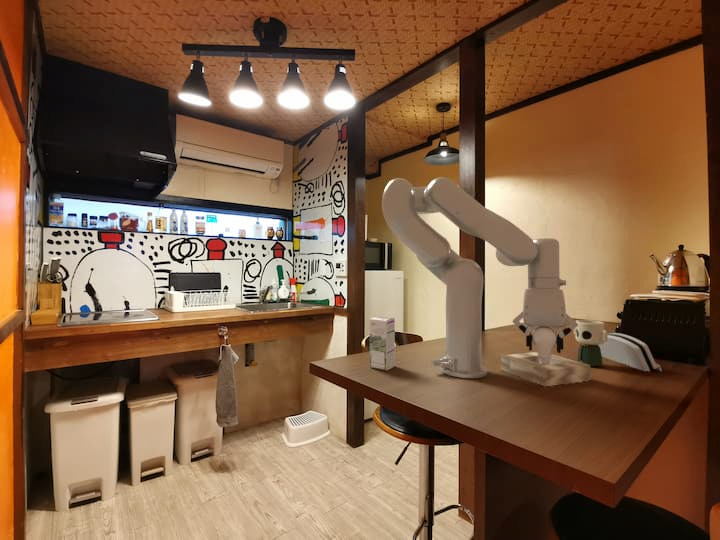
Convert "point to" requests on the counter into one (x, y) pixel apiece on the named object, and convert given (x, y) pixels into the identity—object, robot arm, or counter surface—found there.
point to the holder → (545, 369)
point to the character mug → (590, 341)
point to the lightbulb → (544, 343)
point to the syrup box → (382, 343)
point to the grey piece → (628, 352)
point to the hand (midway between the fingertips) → (544, 350)
